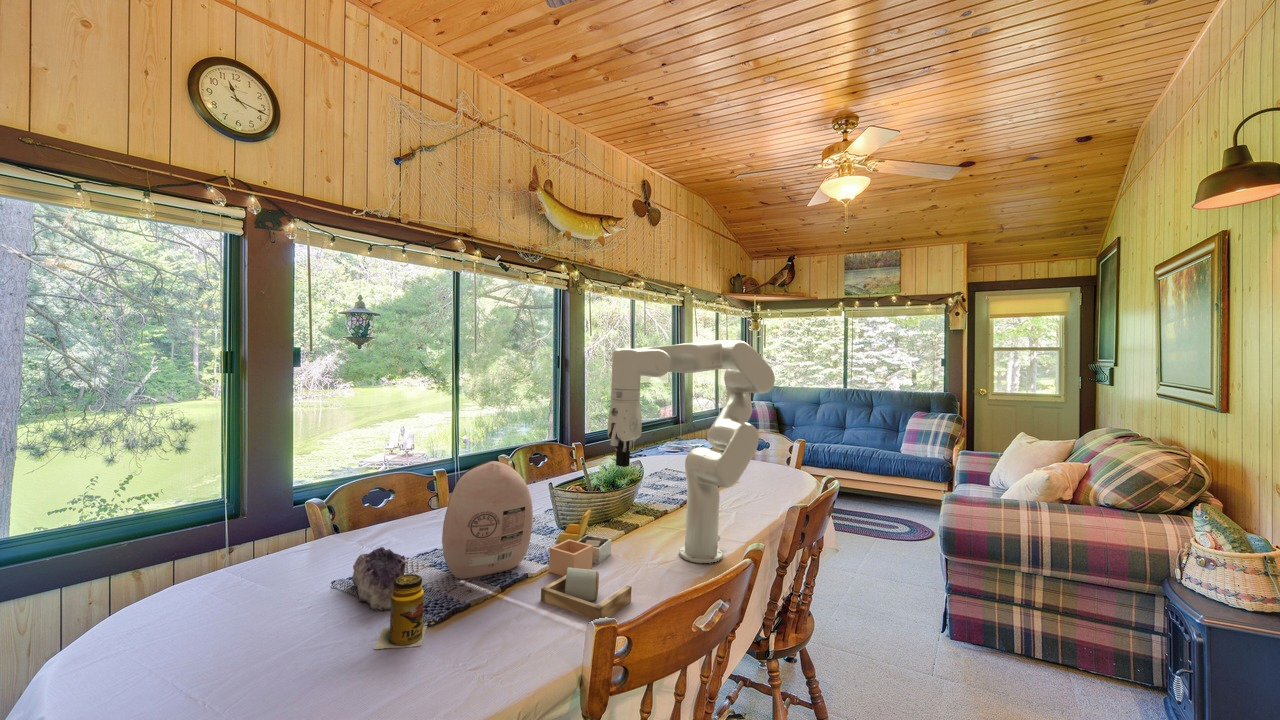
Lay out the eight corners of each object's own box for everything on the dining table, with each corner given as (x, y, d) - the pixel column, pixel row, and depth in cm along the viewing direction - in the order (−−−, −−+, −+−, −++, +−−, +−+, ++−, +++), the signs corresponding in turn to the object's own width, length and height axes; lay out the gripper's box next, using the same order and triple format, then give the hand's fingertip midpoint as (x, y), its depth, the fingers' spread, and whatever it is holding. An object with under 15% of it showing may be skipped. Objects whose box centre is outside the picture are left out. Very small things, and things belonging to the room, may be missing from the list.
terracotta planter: (567, 564, 146) (568, 539, 145) (591, 571, 142) (592, 545, 141) (548, 574, 139) (549, 547, 139) (573, 582, 135) (574, 555, 134)
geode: (421, 604, 121) (417, 562, 119) (365, 624, 114) (360, 580, 113) (401, 569, 137) (397, 532, 136) (351, 584, 131) (346, 546, 129)
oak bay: (575, 583, 134) (576, 569, 134) (631, 601, 126) (631, 586, 126) (540, 603, 123) (541, 588, 123) (598, 624, 115) (599, 608, 114)
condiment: (421, 646, 104) (423, 585, 104) (373, 650, 102) (375, 587, 102) (427, 627, 111) (429, 570, 111) (383, 630, 109) (385, 572, 109)
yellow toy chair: (562, 533, 170) (563, 504, 170) (591, 536, 169) (592, 507, 169) (552, 545, 160) (553, 514, 160) (582, 548, 159) (584, 517, 158)
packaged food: (514, 553, 152) (518, 448, 151) (541, 580, 135) (546, 462, 135) (434, 568, 140) (438, 454, 139) (453, 599, 123) (457, 470, 123)
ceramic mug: (598, 606, 123) (599, 574, 123) (563, 607, 122) (565, 574, 122) (597, 587, 133) (598, 558, 133) (565, 588, 132) (566, 558, 132)
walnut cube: (586, 553, 152) (587, 539, 152) (600, 554, 152) (600, 541, 152) (583, 559, 148) (584, 544, 148) (597, 560, 148) (598, 546, 148)
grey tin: (585, 551, 155) (586, 534, 155) (610, 556, 152) (611, 539, 152) (572, 561, 148) (573, 543, 148) (598, 566, 145) (599, 548, 145)
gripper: (622, 398, 130) (619, 473, 131) (651, 395, 143) (649, 463, 144) (597, 396, 134) (594, 468, 135) (628, 393, 147) (625, 459, 147)
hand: (622, 465), depth 139 cm, fingers closed
